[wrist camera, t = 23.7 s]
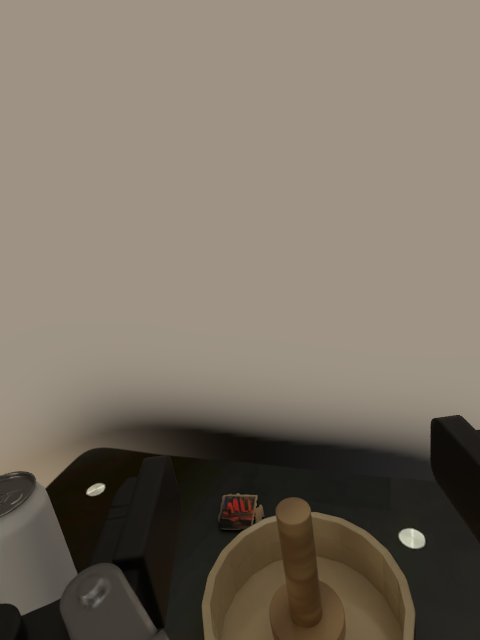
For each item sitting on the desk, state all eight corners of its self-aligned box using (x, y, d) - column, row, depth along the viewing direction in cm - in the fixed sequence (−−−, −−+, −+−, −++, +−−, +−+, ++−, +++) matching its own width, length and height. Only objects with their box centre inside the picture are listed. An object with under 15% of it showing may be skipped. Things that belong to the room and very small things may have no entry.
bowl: (446, 623, 29) (447, 572, 28) (348, 858, 20) (341, 802, 18) (290, 529, 39) (284, 488, 37) (175, 657, 30) (161, 610, 28)
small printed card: (219, 535, 39) (218, 531, 39) (217, 497, 44) (216, 494, 44) (266, 526, 40) (265, 522, 39) (258, 489, 44) (258, 486, 44)
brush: (360, 634, 29) (351, 501, 25) (321, 703, 25) (303, 562, 22) (301, 592, 32) (284, 470, 29) (259, 647, 29) (234, 518, 25)
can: (58, 644, 32) (8, 527, 28) (-16, 644, 33) (-73, 531, 29) (93, 569, 38) (56, 465, 34) (30, 571, 39) (-12, 469, 35)
